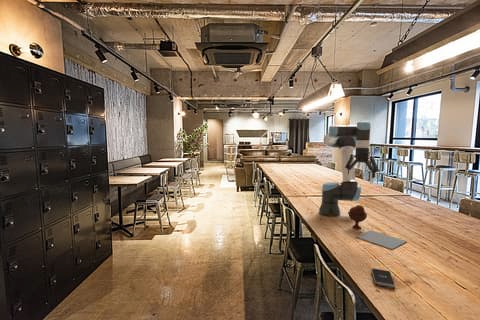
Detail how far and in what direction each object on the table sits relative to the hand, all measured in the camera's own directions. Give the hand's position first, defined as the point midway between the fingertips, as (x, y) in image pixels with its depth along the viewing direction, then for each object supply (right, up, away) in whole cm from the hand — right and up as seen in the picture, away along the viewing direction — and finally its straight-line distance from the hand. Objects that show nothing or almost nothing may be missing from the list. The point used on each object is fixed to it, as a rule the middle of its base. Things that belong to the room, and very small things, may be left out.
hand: (360, 181), depth 158 cm
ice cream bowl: (-1, -30, +4) cm, 30 cm away
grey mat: (+4, -32, -15) cm, 35 cm away
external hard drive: (-17, -36, -55) cm, 68 cm away
